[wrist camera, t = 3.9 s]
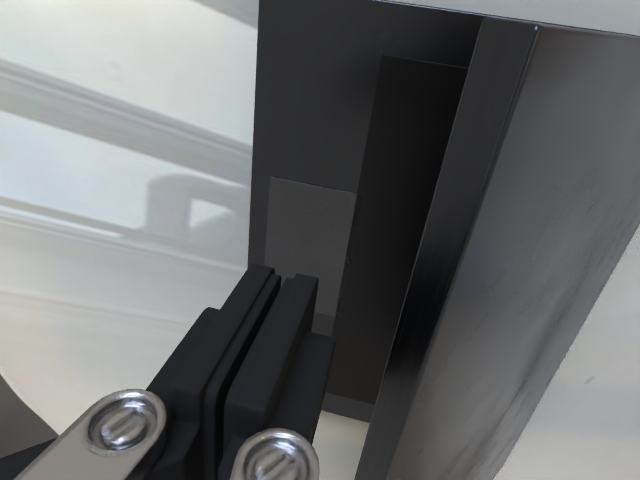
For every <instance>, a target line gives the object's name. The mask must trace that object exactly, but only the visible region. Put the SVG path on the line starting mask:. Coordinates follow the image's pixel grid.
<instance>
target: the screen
mask: <svg viewBox="0 0 640 480" xmlns="http://www.w3.org/2000/svg"><path fill="white" fill-rule="evenodd" d="M639 224H640V37H639V36H632V35H624V34H616V33H609V32H601V31H594V30H586V29H579V28H571V27H564V26H556V25H548V24H541V23H533V22H526V21H518V20H511V19H503V18H496V17H488V18H485V19H484V20H483V21H482V23H481V27H480V30H479V34H478V37H477V41H476V45H475V48H474V52H473V55H472V59H471V62H470V66H469V70H468V73H467V77H466V80H465V84H464V88H463V91H462V95H461V98H460V102H459V106H458V109H457V113H456V116H455V120H454V124H453V127H452V131H451V134H450V138H449V142H448V145H447V149H446V152H445V156H444V159H443V163H442V167H441V170H440V174H439V177H438V181H437V185H436V188H435V192H434V195H433V199H432V203H431V206H430V210H429V213H428V217H427V221H426V224H425V228H424V231H423V235H422V239H421V242H420V246H419V249H418V253H417V257H416V260H415V264H414V267H413V271H412V274H411V278H410V282H409V285H408V289H407V292H406V296H405V300H404V303H403V307H402V310H401V314H400V318H399V321H398V325H397V328H396V332H395V336H394V339H393V343H392V346H391V350H390V354H389V357H388V361H387V364H386V368H385V371H384V375H383V379H382V382H381V386H380V389H379V393H378V397H377V400H376V404H375V407H374V411H373V415H372V418H371V422H370V425H369V429H368V433H367V436H366V440H365V443H364V447H363V451H362V454H361V458H360V461H359V465H358V468H357V472H356V476H355V479H354V480H493V478H494V477H495V476H496V474H497V473H498V472H499V471H500V469H501V468H502V467H503V465H504V463H505V462H506V460H507V458H508V456H509V455H510V453H511V451H512V449H513V447H514V446H515V444H516V442H517V440H518V439H519V437H520V435H521V433H522V432H523V430H524V428H525V426H526V424H527V423H528V421H529V419H530V417H531V416H532V414H533V412H534V410H535V409H536V407H537V405H538V403H539V401H540V400H541V398H542V396H543V394H544V393H545V391H546V389H547V387H548V385H549V384H550V382H551V380H552V378H553V377H554V375H555V373H556V371H557V370H558V368H559V366H560V364H561V362H562V361H563V359H564V357H565V355H566V354H567V352H568V350H569V348H570V347H571V345H572V343H573V341H574V339H575V338H576V336H577V334H578V332H579V331H580V329H581V327H582V325H583V324H584V322H585V320H586V318H587V316H588V315H589V313H590V311H591V309H592V308H593V306H594V304H595V302H596V300H597V299H598V297H599V295H600V293H601V292H602V290H603V288H604V286H605V285H606V283H607V281H608V279H609V277H610V276H611V274H612V272H613V270H614V269H615V267H616V265H617V263H618V262H619V260H620V258H621V256H622V254H623V253H624V251H625V249H626V247H627V246H628V244H629V242H630V240H631V238H632V237H633V235H634V233H635V231H636V230H637V228H638V226H639Z"/></svg>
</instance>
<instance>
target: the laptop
mask: <svg viewBox="0 0 640 480" xmlns="http://www.w3.org/2000/svg"><path fill="white" fill-rule="evenodd" d="M488 17H496V18H503V19H511V20H518V21H526V22H533V23H541V24H548V25H556V26H564V27H571V28H579V29H586V30H594V29H587V28H580V27H573V26H566V25H559V24H551V23H544V22H537V21H530V20H523V19H516V18H509V17H502V16H494V15H487V14H480V13H473V12H466V11H459V10H452V9H445V8H437V7H430V6H423V5H416V4H409V3H402V2H395V1H388V0H259V17H258V40H257V64H256V87H255V110H254V133H253V156H252V180H251V203H250V226H249V249H248V268H249V266H250V265H251V264H252V263H255V264H259V265H264V266H268V267H272V268H274V269H275V274H277V275H281V278H282V280H281V287H282V285H283V283H284V281H285V279H286V278H287V277H290V278H294V277H295V275H296V274H297V273H299V274H303V275H308V276H312V277H317V278H319V283H318V290H317V297H316V303H315V310H314V317H313V324H312V330H311V332H313V333H317V334H322V335H326V336H330V337H334V338H336V345H335V350H334V355H333V361H332V366H331V370H330V375H329V379H328V384H327V388H326V392H325V396H324V400H323V404H322V408H321V410H323V411H327V412H330V413H334V414H338V415H341V416H345V417H349V418H353V419H356V420H360V421H364V422H367V423H370V422H371V418H372V415H373V411H374V407H375V404H376V400H377V397H378V393H379V389H380V386H381V382H382V379H383V375H384V371H385V368H386V364H387V361H388V357H389V354H390V350H391V346H392V343H393V339H394V336H395V332H396V328H397V325H398V321H399V318H400V314H401V310H402V307H403V303H404V300H405V296H406V292H407V289H408V285H409V282H410V278H411V274H412V271H413V267H414V264H415V260H416V257H417V253H418V249H419V246H420V242H421V239H422V235H423V231H424V228H425V224H426V221H427V217H428V213H429V210H430V206H431V203H432V199H433V195H434V192H435V188H436V185H437V181H438V177H439V174H440V170H441V167H442V163H443V159H444V156H445V152H446V149H447V145H448V142H449V138H450V134H451V131H452V127H453V124H454V120H455V116H456V113H457V109H458V106H459V102H460V98H461V95H462V91H463V88H464V84H465V80H466V77H467V73H468V70H469V66H470V62H471V59H472V55H473V52H474V48H475V45H476V41H477V37H478V34H479V30H480V27H481V23H482V21H483V20H484V19H485V18H488ZM594 31H601V30H594ZM601 32H608V31H601ZM609 33H616V32H609ZM616 34H623V33H616ZM624 35H630V34H624ZM632 36H637V35H632ZM639 37H640V36H639Z"/></svg>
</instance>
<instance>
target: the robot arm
mask: <svg viewBox="0 0 640 480" xmlns="http://www.w3.org/2000/svg"><path fill="white" fill-rule="evenodd" d="M281 280H282V278H281V275H277V274H275V269H274V268H272V267H268V266H264V265H259V264H255V263H252V264H251V265H250V266H249V268H248V269H247V271H246V272H245V274H244V275H243V277H242V278H241V280H240V281H239V283H238V284H237V285H236V287H235V288H234V290H233V291H232V293H231V294H230V296H229V297H228V299H227V300H226V302H225V303H224V305H223V306H222V308H221V309H220V310H219V309H215V308H210V307H208V308H206V309H205V310H204V311H203V312H202V313H201V315H200V316H199V318H198V319H197V320H196V322H195V323H194V324H193V326H192V327H191V329H190V330H189V331H188V333H187V334H186V335H185V337H184V338H183V340H182V341H181V342H180V344H179V345H178V346H177V348H176V349H175V350H174V352H173V353H172V355H171V356H170V357H169V359H168V360H167V361H166V363H165V364H164V366H163V367H162V368H161V370H160V371H159V372H158V374H157V375H156V376H155V378H154V379H153V381H152V382H151V383H150V385H149V386H148V387H147V389H146V390H142V389H126V390H122V391H117V392H114V393H112V394H110V395H107V396H105V397H103V398H101V399H100V400H99V401H97V402H96V403H95V404H93V405H92V406H91V407H90V408H89V409H88V410H87V411H85V412H84V413H83V414H82V415H81V416H80V417H79V418H78V419H77V420H76V421H75V422H74V423H73V424H72V425H71V426H70V427H69V428H67V429H66V430H65V431H64V432H63V433H62V434H61V435H60V436H59V437H57V438H55V439H52V440H50V441H47V442H44V443H41V444H38V445H36V446H33V447H30V448H27V449H25V450H22V451H19V452H16V453H14V454H11V455H8V456H6V457H3V458H0V480H319V461H318V457H317V454H316V452H315V450H314V448H313V446H312V443H313V439H314V435H315V431H316V427H317V423H318V419H319V416H320V412H321V408H322V404H323V400H324V396H325V392H326V388H327V384H328V379H329V375H330V370H331V366H332V361H333V355H334V350H335V345H336V338H334V337H330V336H326V335H322V334H317V333H313V332H311V330H312V324H313V317H314V310H315V303H316V297H317V290H318V283H319V278H317V277H312V276H308V275H303V274H299V273H297V274H296V275H295V277H294V278H290V277H287V278H286V279H285V281H284V283H283V285H282V287H281Z"/></svg>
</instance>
